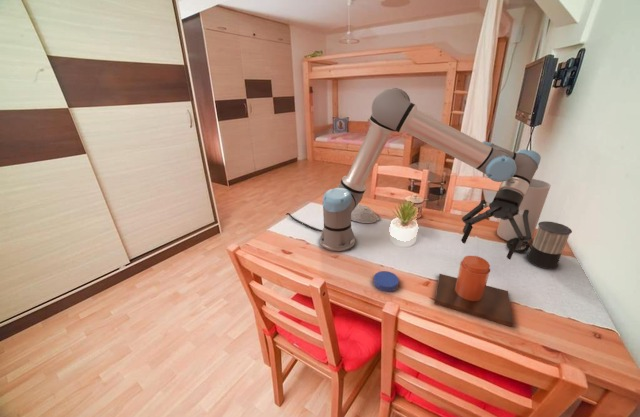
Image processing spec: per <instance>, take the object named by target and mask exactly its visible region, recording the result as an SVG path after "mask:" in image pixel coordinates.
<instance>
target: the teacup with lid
mask: <svg viewBox="0 0 640 417" xmlns="http://www.w3.org/2000/svg"><path fill="white" fill-rule="evenodd" d="M405 201H411V202H413V203H414V204H415V206H416V207H417V208H418V214H417V217H416V219H420V218H421V217H422V213H423V207H424V201H425V200H424V198H423V197H421V196H419V195H418V194H416V193H413V194H412V195H408V196H405V198H404V202H405Z"/></svg>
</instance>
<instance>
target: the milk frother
mask: <svg viewBox="0 0 640 417" xmlns="http://www.w3.org/2000/svg"><path fill="white" fill-rule="evenodd" d="M537 226H538V227H537V230H536V233H535V236H534V239H533V240H532V241H533V242H532V243H531V244H530V242H529V243H528V242H527V241H524V242H523V243H524V244H523V245H524V248H520V250H515V251H514V253H515V252H516V253H525V252H527V251H528V250H529V249H530V250H529V251H528V254H527V255H526V259H527V261H528V262H529V263H530V264H532V265H534V266H537V267H540V268H542V269H549V270H553V269H557V268H558V266H559V261H560V259H561V257H562V254H563V252H564V249H565V247H566V245H567V242H568V239H569V237H570V235H571V234H572V233H573V229H571V228H570V227H569V226H567V225H564V224H562V223H558V222H554V221H547V220H546V221H545V220H544V221H539V222H538V223H537ZM514 239H515V238H513V239H510V240H508V241H506V244H505V245H506V247H507V248H508V249H509V250H510V248H511V246H512V243H513V241H514Z"/></svg>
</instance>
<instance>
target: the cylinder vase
mask: <svg viewBox="0 0 640 417" xmlns="http://www.w3.org/2000/svg"><path fill="white" fill-rule="evenodd" d="M550 189H551V184H550V183H549V182H546V181H544V180H540V179H535V178H532V180H531V182H530V185H529V187H528V189H527V192H526V194H525V196H524V197H523V200H522V202H521V205H520V207H519V210H529V217H528V222H529V227H530V232H531V237H532V238H533V237H534V234H535V231H536V229H537V226H538V224H539V220H540V217H541V214H542V212H543V209H544V206H545V203H546V200H547V197H548V195H549V192H550ZM513 217H514V220H515V222H516V223H517V225H518V227H519V229H520V231H521V233H522V235H523V236H526V232H525V227H524V222H523V217H521V216H520V214H517V215H515V216H513ZM496 234H497V236H498V237H499V238H500V239H502V240H503V241H506V242H507V241H508V240H510V239H513V238H518V237H517V235H516V233H515V231H514V229H513V227H512V225H511V223H510V221H509V219H507V220H502V219H500V218H499V222H498V226H497V229H496ZM527 242H528V241H527ZM528 243H529V244H530V242H528ZM522 245H525V244H524V243H522Z"/></svg>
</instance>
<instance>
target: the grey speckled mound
mask: <svg viewBox="0 0 640 417" xmlns="http://www.w3.org/2000/svg"><path fill="white" fill-rule="evenodd" d="M379 220H380V217H379V216H378V215H377V214H376V213H375V212H374V211H373V210H372V209H371V207H368V206H367V205H364V204H360V203H358V205H357V206H356V207H355V209H354V210H353V211H352V213H351V221H353V222H356V223H357V222H358V223H362V224H373V223H376V222H377V221H379Z"/></svg>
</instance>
